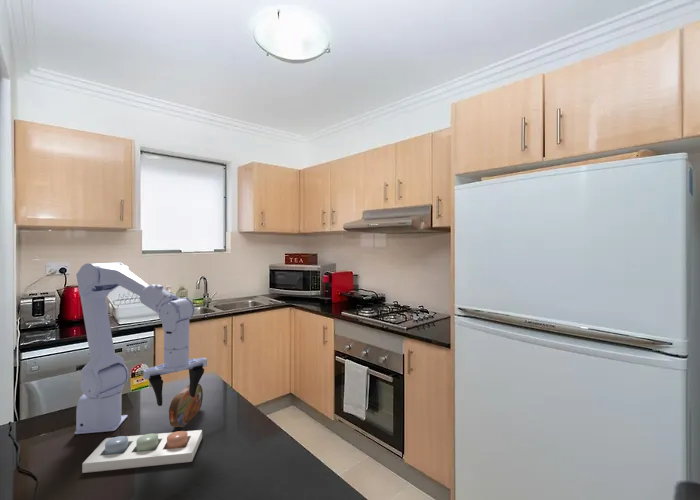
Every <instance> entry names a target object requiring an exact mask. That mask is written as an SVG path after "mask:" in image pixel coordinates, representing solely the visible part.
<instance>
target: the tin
mask: <svg viewBox="0 0 700 500" xmlns="http://www.w3.org/2000/svg"><path fill="white" fill-rule="evenodd" d="M189 387H190V384H188V385H187V386H186V387H184V388H183V389H181V391H180V392H179V393H177V394H175V396H174V397H173V399H172V400H171V402H170V405H169V408H168V418H169V419H168V420H169V424H170V426H171V427H172V428H185V427H186V426H187V425H188V424H189V422H190V421H191V420H193V418H194V417H196V415H197V414H198V413H199V411H200V409H201V408H202V404H203V397H204V396H203V395H204V393H203V387H202V385H201V384H200V383H198V386H197V389H196V393H195V397H191V396H190V393H189Z"/></svg>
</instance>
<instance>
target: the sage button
mask: <svg viewBox="0 0 700 500" xmlns="http://www.w3.org/2000/svg"><path fill="white" fill-rule="evenodd" d="M157 434H158V433H146V434H142V435H143V436H141V437H139V438H138V439H137V441H136V452H143V451H153V450H156V448H157V447H158V435H157Z"/></svg>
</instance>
